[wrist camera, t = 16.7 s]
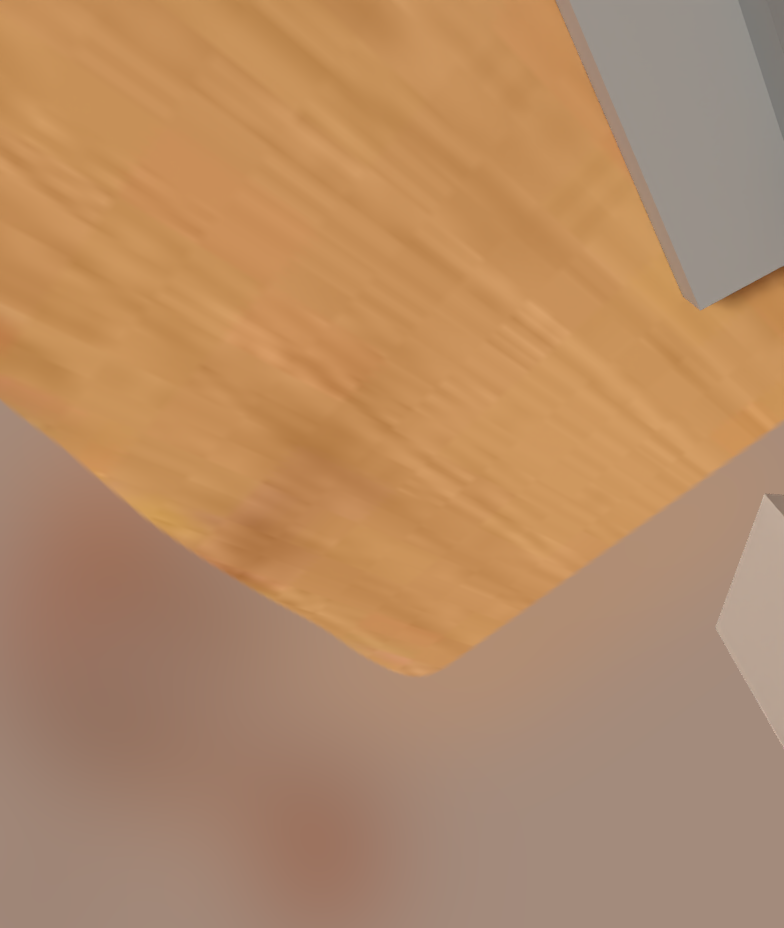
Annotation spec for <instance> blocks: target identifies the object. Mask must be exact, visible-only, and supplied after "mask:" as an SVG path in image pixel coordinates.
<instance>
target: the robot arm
mask: <svg viewBox="0 0 784 928" xmlns="http://www.w3.org/2000/svg"><path fill="white" fill-rule="evenodd" d="M716 630H717V631H718V633H719V635H720V636H721V638H722V640H723V642H724V644H725V646H726V647H727V649H728V651H729V653H730V655H731V656H732V658H733V660H734V662H735V663H736V665H737V667H738V669H739V670H740V672H741V674H742V676H743V677H744V679H745V681H746V683H747V685H748V686H749V688H750V690H751V691H752V693H753V695H754V697H755V699H756V700H757V702H758V704H759V706H760V707H761V709H762V711H763V713H764V714H765V716H766V718H767V720H768V721H769V723H770V725H771V727H772V728H773V730H774V732H775V734H776V736H777V737H778V739H779V741H780V743H781V744H782V746H783V748H784V495H779V494H764V497H763V500H762V502H761V505H760V508H759V511H758V513H757V516H756V519H755V521H754V524H753V527H752V529H751V532H750V535H749V538H748V540H747V543H746V546H745V548H744V551H743V554H742V557H741V559H740V563H739V565H738V568H737V570H736V573H735V576H734V579H733V581H732V584H731V587H730V589H729V592H728V595H727V597H726V600H725V603H724V606H723V608H722V611H721V614H720V617H719V620H718V622H717V625H716Z"/></svg>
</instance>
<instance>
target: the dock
mask: <svg viewBox="0 0 784 928" xmlns="http://www.w3.org/2000/svg"><path fill="white" fill-rule="evenodd" d="M556 3H557V5H558V7H559V10H560V12H561V14H562V17H563V19H564V21H565V24H566V26H567V28H568V31H569V33H570V35H571V38H572V40H573V42H574V45H575V47H576V49H577V51H578V54H579V56H580V58H581V61H582V63H583V65H584V68H585V70H586V72H587V75H588V77H589V79H590V82H591V84H592V86H593V89H594V91H595V93H596V96H597V98H598V100H599V103H600V105H601V107H602V110H603V112H604V114H605V116H606V119H607V121H608V123H609V126H610V128H611V130H612V133H613V135H614V137H615V140H616V142H617V144H618V147H619V149H620V151H621V154H622V156H623V158H624V161H625V163H626V165H627V168H628V170H629V172H630V174H631V177H632V179H633V181H634V184H635V186H636V188H637V191H638V193H639V195H640V198H641V200H642V202H643V205H644V207H645V209H646V212H647V214H648V216H649V219H650V221H651V223H652V226H653V228H654V230H655V233H656V235H657V237H658V239H659V242H660V244H661V246H662V249H663V251H664V253H665V256H666V258H667V260H668V263H669V265H670V267H671V270H672V272H673V274H674V277H675V279H676V281H677V284H678V286H679V288H680V291H681V293H682V295H683V297H684V298H685V299H687V300H688V301H689V302H690V303H692V304H693V305H694V306H695V307H697V308H698V309H699V310H702V309H704V308H706V307H708V306H710V305H712V304H713V303H715V302H717V301H719V300H721V299H723V298H725V297H726V296H728V295H730V294H732V293H734V292H736V291H738V290H739V289H741V288H743V287H745V286H747V285H749V284H750V283H752V282H754V281H756V280H758V279H760V278H762V277H763V276H765V275H767V274H769V273H771V272H773V271H775V270H776V269H778V268H780V267H782V266H784V0H556Z"/></svg>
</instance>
